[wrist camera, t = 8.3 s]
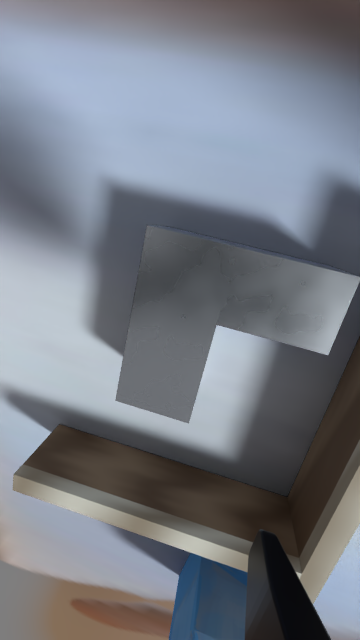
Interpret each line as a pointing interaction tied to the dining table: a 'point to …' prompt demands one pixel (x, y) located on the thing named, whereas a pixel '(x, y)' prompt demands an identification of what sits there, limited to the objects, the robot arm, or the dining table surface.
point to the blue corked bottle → (209, 601)
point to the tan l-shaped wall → (214, 493)
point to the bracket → (218, 311)
